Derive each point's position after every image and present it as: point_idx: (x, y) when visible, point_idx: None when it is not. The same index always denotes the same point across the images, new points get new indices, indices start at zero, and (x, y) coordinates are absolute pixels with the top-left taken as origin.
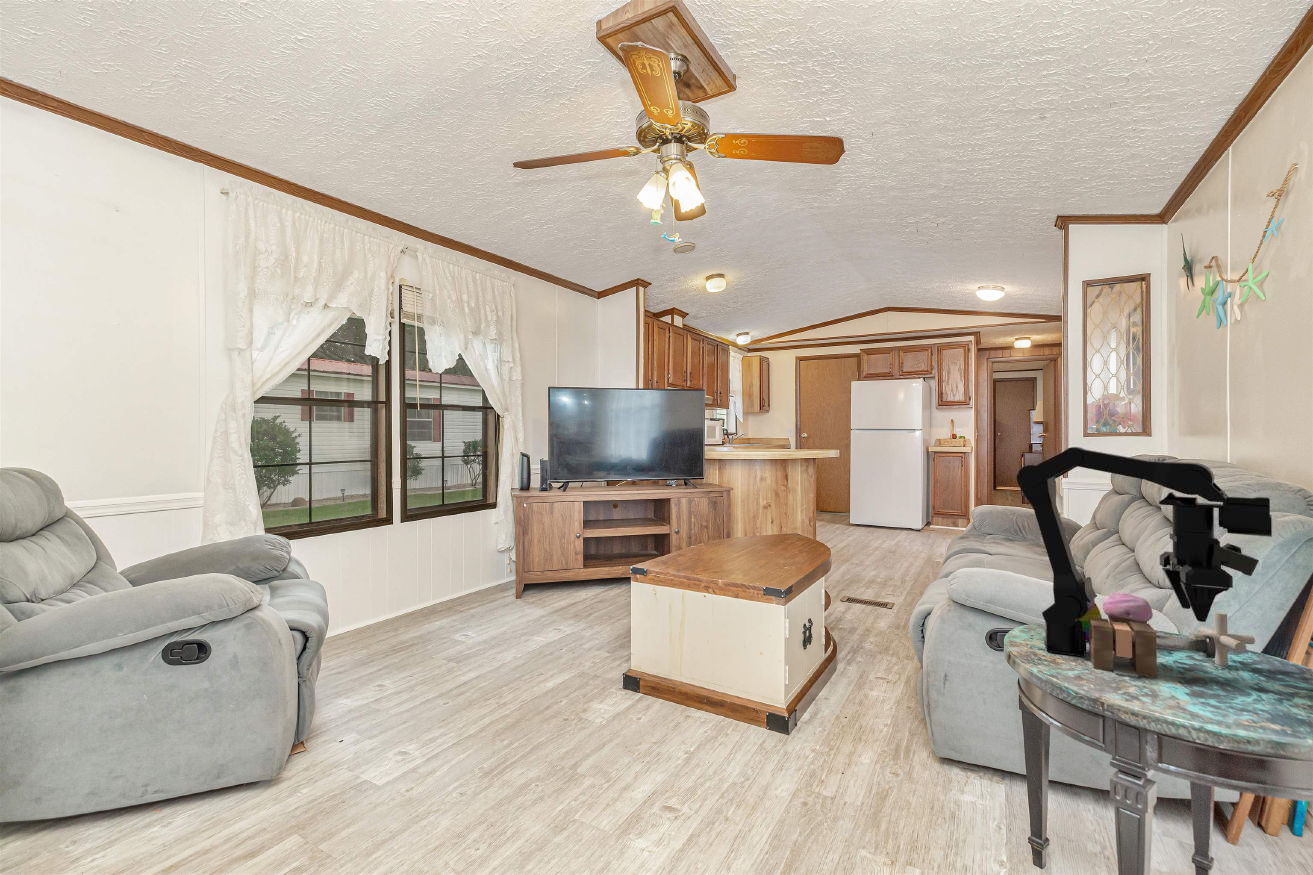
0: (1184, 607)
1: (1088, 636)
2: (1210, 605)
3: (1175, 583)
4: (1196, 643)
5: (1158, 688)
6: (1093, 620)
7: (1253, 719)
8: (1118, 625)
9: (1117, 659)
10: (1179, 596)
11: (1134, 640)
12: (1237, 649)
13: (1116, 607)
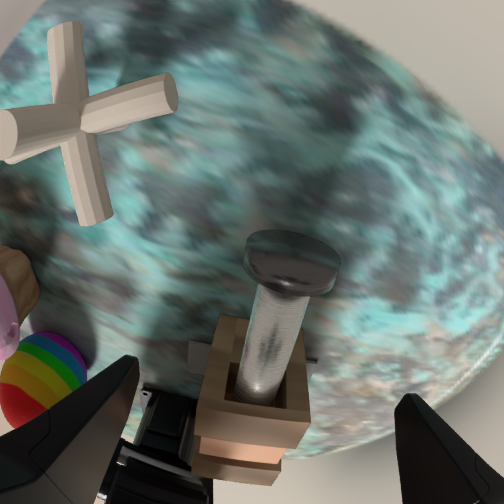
0: (136, 375)
1: (81, 363)
2: (472, 454)
3: (88, 501)
4: (305, 308)
5: (372, 347)
6: (223, 478)
7: (500, 251)
8: (237, 453)
9: (202, 361)
10: (117, 435)
11: None
12: (177, 103)
13: (5, 356)
